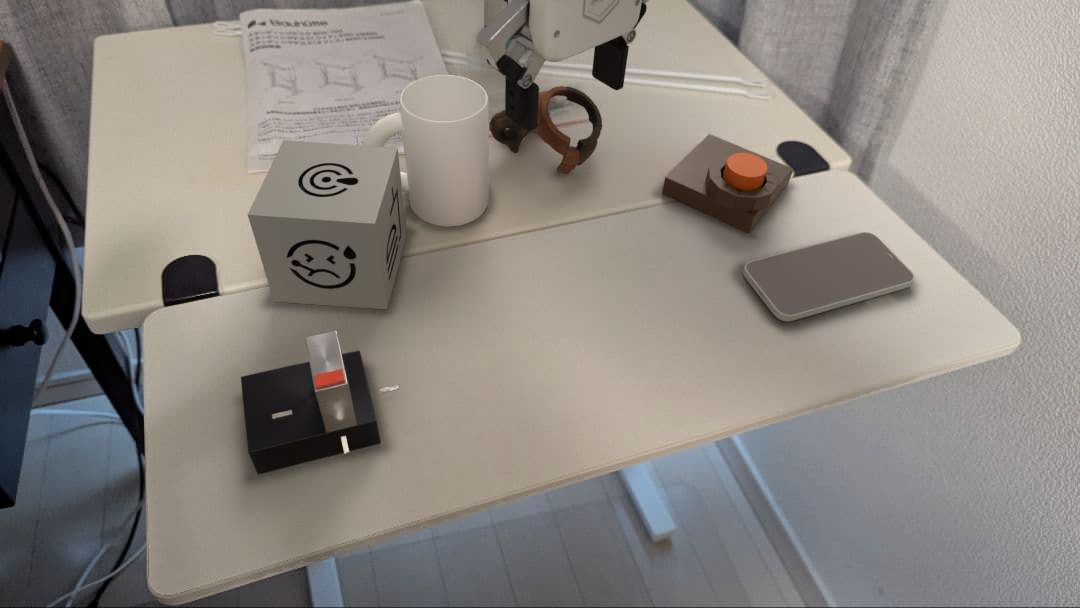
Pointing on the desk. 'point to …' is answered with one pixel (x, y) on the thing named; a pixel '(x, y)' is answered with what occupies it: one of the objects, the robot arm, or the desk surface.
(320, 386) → the red-banded grey bar
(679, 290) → the desk surface
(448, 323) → the desk surface
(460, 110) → the mug
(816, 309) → the smartphone
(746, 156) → the power button
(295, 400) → the switch panel
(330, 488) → the desk surface
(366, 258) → the icon cube
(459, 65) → the desk surface
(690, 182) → the control block
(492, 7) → the cup
